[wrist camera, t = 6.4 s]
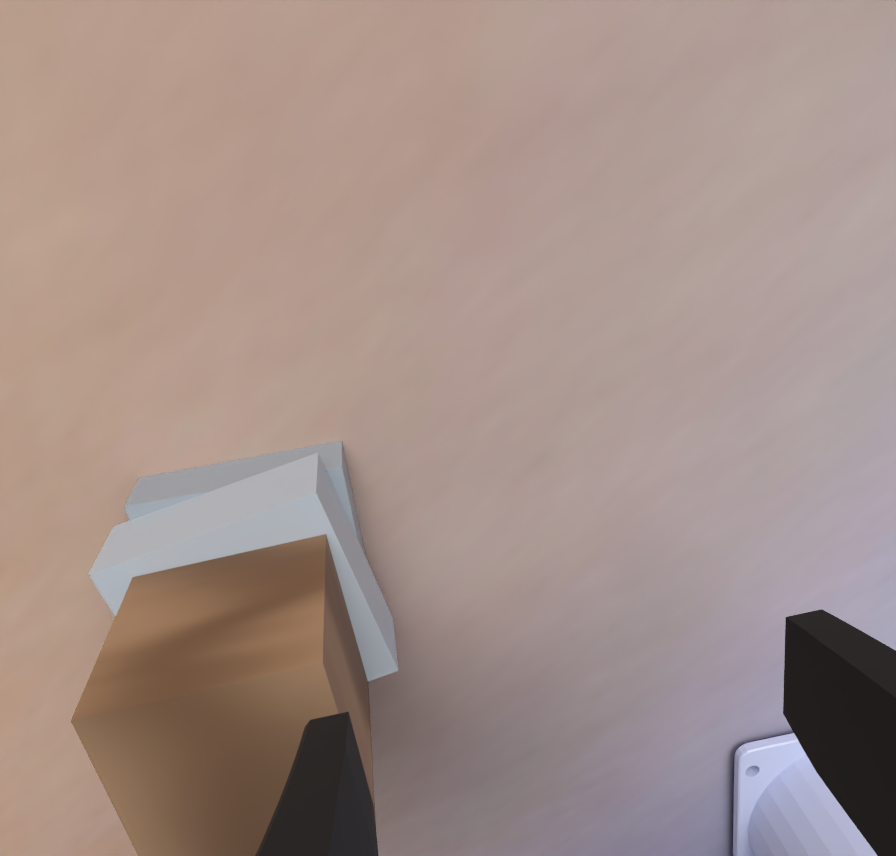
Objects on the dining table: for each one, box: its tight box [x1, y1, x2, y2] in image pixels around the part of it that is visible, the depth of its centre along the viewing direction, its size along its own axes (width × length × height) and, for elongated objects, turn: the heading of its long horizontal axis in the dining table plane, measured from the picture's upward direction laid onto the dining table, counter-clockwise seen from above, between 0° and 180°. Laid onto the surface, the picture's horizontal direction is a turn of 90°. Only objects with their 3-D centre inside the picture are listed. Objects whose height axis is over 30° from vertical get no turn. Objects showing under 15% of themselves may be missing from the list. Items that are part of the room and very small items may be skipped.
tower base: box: [124, 441, 367, 560], centre depth 22 cm, size 6×6×2 cm
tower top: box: [88, 453, 399, 682], centre depth 20 cm, size 6×6×2 cm
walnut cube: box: [71, 534, 376, 856], centre depth 17 cm, size 4×4×4 cm
